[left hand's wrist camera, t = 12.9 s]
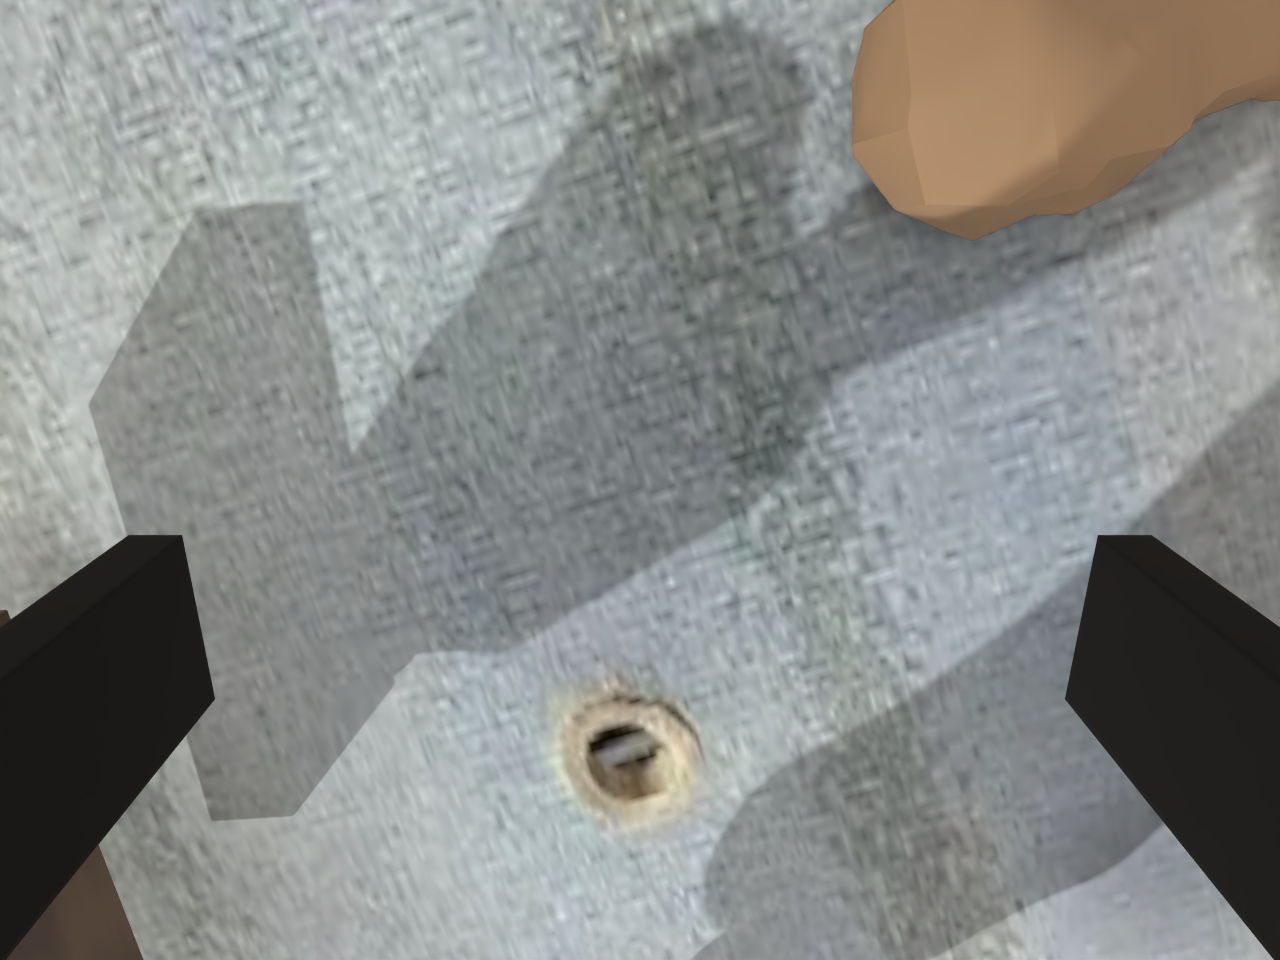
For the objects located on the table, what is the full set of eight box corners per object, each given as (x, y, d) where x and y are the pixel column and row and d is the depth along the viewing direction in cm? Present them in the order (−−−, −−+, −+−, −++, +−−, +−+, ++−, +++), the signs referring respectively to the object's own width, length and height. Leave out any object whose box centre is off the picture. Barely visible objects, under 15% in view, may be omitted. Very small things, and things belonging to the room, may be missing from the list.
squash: (790, 26, 36) (860, -79, 28) (1226, -91, 37) (1432, -230, 28) (847, 277, 38) (931, 253, 29) (1263, 160, 39) (1467, 103, 30)
